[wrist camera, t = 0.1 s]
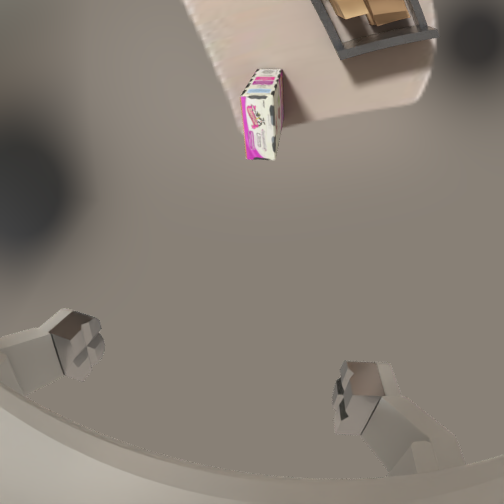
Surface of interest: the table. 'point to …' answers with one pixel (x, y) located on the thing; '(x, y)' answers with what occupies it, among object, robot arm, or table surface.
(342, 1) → the tan wooden block
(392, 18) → the offcut stack
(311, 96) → the table surface
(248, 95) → the candy bar box
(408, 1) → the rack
